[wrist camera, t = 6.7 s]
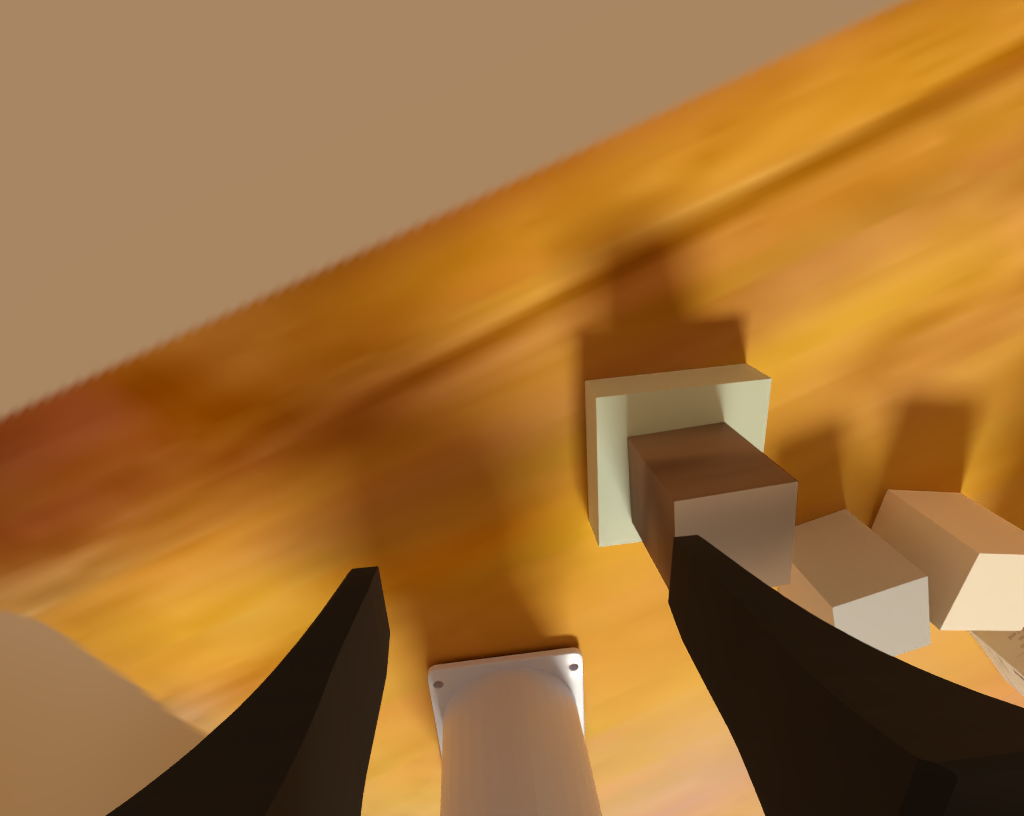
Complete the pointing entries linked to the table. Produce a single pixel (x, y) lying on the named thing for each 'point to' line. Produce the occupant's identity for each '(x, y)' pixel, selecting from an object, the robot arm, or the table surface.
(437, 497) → the table surface
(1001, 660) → the supplement box
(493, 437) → the table surface
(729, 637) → the robot arm
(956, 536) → the cream block
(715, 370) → the sage slab
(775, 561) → the walnut block
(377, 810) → the table surface
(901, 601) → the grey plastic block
